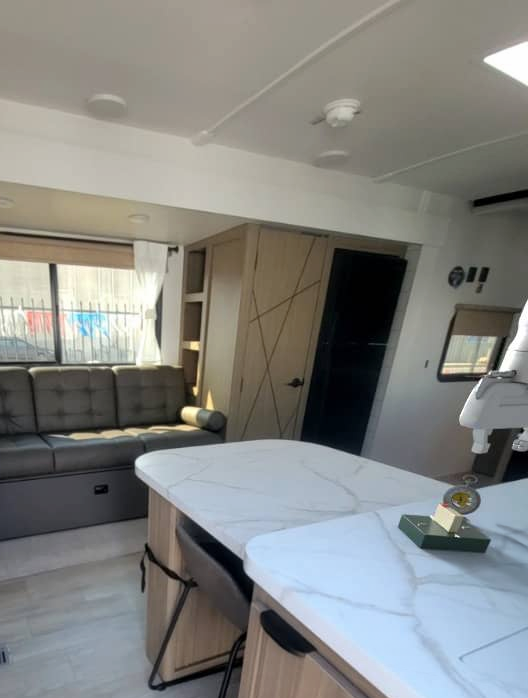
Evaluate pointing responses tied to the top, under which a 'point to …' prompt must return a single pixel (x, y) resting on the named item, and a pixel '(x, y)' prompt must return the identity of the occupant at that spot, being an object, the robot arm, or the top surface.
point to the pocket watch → (463, 498)
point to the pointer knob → (448, 518)
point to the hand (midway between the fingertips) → (498, 451)
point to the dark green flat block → (442, 535)
